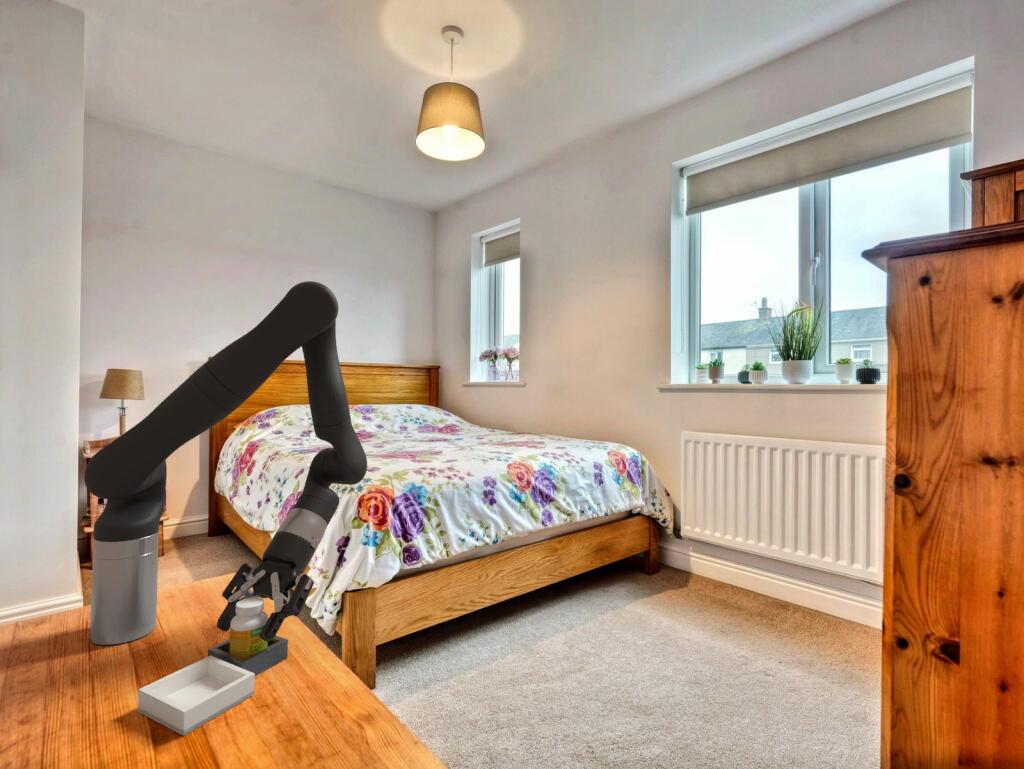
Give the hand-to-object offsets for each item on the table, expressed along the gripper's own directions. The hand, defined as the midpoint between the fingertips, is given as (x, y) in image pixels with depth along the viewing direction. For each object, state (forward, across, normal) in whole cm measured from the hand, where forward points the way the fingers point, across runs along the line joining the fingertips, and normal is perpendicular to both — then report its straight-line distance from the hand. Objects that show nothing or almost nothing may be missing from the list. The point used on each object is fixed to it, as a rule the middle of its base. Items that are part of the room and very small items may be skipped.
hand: (242, 634), depth 81 cm
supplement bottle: (+3, 0, +5) cm, 6 cm away
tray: (+10, +2, -3) cm, 10 cm away
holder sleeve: (+3, 0, +5) cm, 5 cm away
